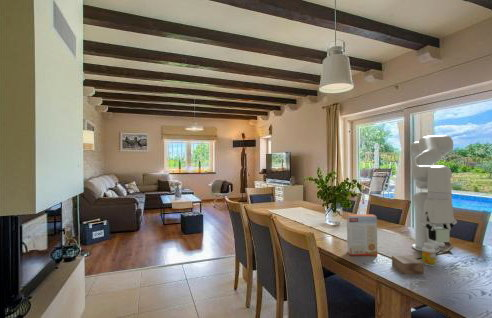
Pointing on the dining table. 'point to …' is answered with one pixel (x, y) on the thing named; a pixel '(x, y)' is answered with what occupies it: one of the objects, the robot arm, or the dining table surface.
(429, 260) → the supplement bottle
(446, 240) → the sage cube
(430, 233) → the robot arm
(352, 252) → the cracker box
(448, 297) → the dining table surface
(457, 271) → the dining table surface
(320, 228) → the dining table surface
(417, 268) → the walnut block
